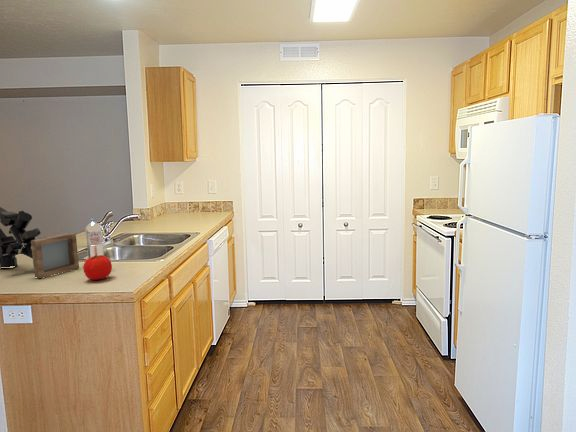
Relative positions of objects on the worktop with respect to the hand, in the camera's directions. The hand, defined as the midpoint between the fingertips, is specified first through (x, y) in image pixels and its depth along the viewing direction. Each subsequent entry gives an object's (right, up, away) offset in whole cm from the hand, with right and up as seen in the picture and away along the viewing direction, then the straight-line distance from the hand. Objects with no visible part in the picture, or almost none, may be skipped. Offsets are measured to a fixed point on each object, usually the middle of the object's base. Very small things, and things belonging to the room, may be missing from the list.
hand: (37, 259), depth 214 cm
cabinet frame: (+11, -7, -2) cm, 13 cm away
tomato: (+36, -8, -15) cm, 39 cm away
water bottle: (+29, -6, 0) cm, 29 cm away
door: (+8, -6, 0) cm, 10 cm away
